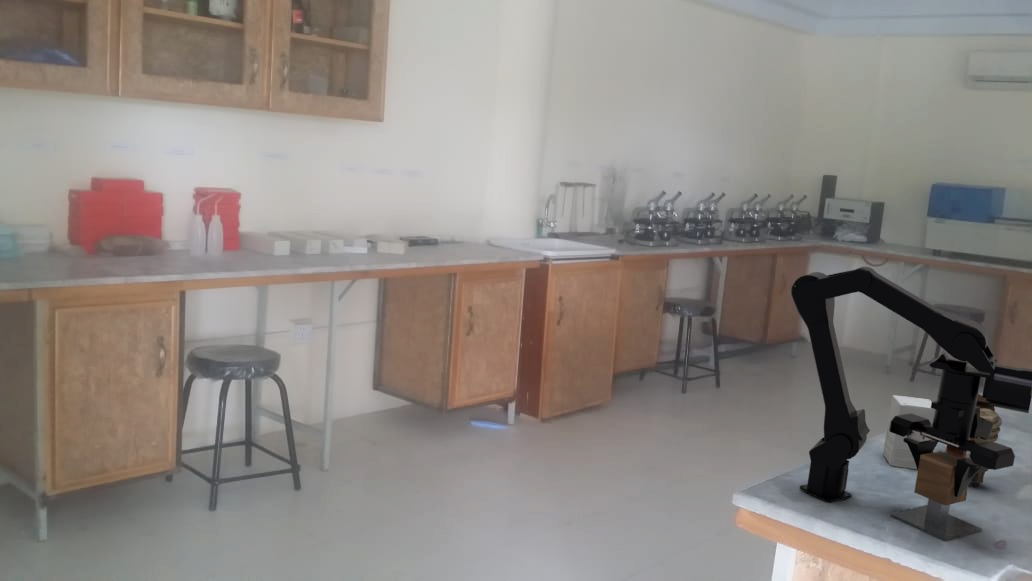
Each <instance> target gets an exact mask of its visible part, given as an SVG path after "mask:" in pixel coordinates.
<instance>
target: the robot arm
mask: <svg viewBox="0 0 1032 581" xmlns="http://www.w3.org/2000/svg"><path fill="white" fill-rule="evenodd" d="M790 290H791V292H790V293H791V297H792V300H793V303H794V305H795V307H796V310H797V312H798V314H799V316H800V318H801V319H802V321H803V322H804V324H805V326H806V327H807V329H808V330H807V331H808V335H809V340H810V344H811V348H812V351H813V352H812V353H813V357H814V361H815V362H814V363H815V366H816V372H817V376H818V379H819V383H820V389H821V393H822V397H823V403H824V418H823V437H821V438H820V439H819V440H818V442H816V444H814V446H813V447H812V448H811V449H810V450H809V452H808V454H809V457H810V464H809V472H808V478H807V483H806V484H801V485H799V490H801V491H804V492H806V494H807V493H808V494H809V495H812V496H814V497H815V498H818V499H820V500H822V501H825V502H826V503H827V502H828V503H831V502H836V501H841V500H844V499H850V498H852V496H853V494H852V493H850V492H847V491H845V490H846V489H847V487H846V486H847V483H848V482H847V481H848V475H849V469H850V468H849V464H850V460H851V459H853V458H854V457H856V456H857V454H858V453H859V451H860V450H861V449H862V448H863V447H864V445H865V444H866V442H867V436H868V434H869V432H870V431H871V430H870V428H869V427H868V425H867V422H866V411H865V409H859V410H857V409H856V408H855V405H854V404H853V403H852V400H851V397H850V393H849V387H848V384H847V378H846V374H845V371H844V370H845V369H844V367H843V366H844V365H843V362H842V361H843V360H842V357H841V353H840V348H839V347H840V346H839V343H838V339H837V334H836V328H835V325H834V318H835V317H834V315H835V307H836V306H835V304H836V303H835V298H837V297H842V296H845V295H846V296H847V295H848V294H853V293H861V294H863V295H864V296H867V297H868V298H870V299H871V300H873V301H875V302H876V303H877V304H880V305H882V306H883V307H885V308H887V309H888V310H890V311H892V312H893V313H894V314H896V315H898V316H900V317H902V318H903V319H905V320H907V321H908V322H910V323H912V324H913V325H915V326H916V327H918V328H920V329H922V330H923V331H924V332H925V333H926V334H927V335H928V336H929V337H930V338H932V340H933V341H934V342H935V344H937V345H938V346H939V347H941V348H942V349H943V350H944V352H942V353H941V354H940V355H939V356H938V357H936V358H934V359H932V361H931V362H930V363H929V367H930V368H933V369H938V370H941V374H940V380H939V386H938V392H937V398H936V400H933V401H931V402H932V403H931V408H933V409H935V413H934V419H933V425H931V423H930V421H929V419H926V418H923V417H920V416H917V415H914V414H904V415H898V416H895V417H893V419H892V420H891V421H890V427H889V431H890V432H892V433H894V434H897V435H900V436H902V437H904V436H906V435H907V438H904V439H903V441H904V442H905V443H907V444H908V446H909V449H910V451H911V453H912V456H913V458H914V461H915V464H916V467H917V469H916V470H917V471H918V468H919V462H920V456H921V455H922V454H927V453H932V452H934V451H935V449H936V446H937V445H938V443H940V444H941V443H942V444H944V445H946V446H947V445H949V446H951V447H954V448H957V449H960V450H962V451H965V452H966V458H962V459H957V466H956V477H955V487H954V492H955V497H960V496H961V495H962V493H963V492H964V490H965V489H966V487H967V486H968V487H969V485H968V484H970V483H971V482H970V481H971V479H972V478H973V477H974V475H975V474H976V473H977V472H978V471H979V469H980V468H982V467H985V468H988V469H989V470H994V471H995V470H1000V469H1004V468H1008V467H1013V466H1014V464H1015V457H1016V455H1015V453H1014V450H1013V449H1012V447H1009V446H1006V445H1004V444H1001V443H997V442H996V441H994V442H992V441H989V442H983V443H975V442H972V441H970V438H972V439H978V438H979V437H980V438H981V439H983V440H986V441H987V440H988V438H989V435H990V432H991V430H992V427H993V425H994V423H992V422H990V421H988V420H986V419H984V418H982V417H980V407H977V406H976V403H977V397H978V394H979V392H980V391H979V390H980V386H981V380H982V378H984V379H985V380H984V384H983V385H984V386H983V390H982V398H986V401H988V402H989V406H994V408H1001V409H1005V410H1011V411H1015V412H1020V413H1024V414H1029V412H1030V407H1031V403H1032V369H1031V368H1030V369H1029V368H1025V367H1024V368H1020V367H1018V368H1017V367H1013V366H1007V365H1002V364H998V362H999V361H998V360H997V358H996V356H995V355H994V353H993V352H992V350H991V348H990V347H989V345H988V344H989V334H988V331H987V329H986V327H985V326H983V325H982V323H979V322H977V321H975V320H972V319H969V318H967V317H963V316H962V315H959V314H957V313H952V312H950V311H946V310H943V309H941V308H938V307H936V306H934V305H933V304H931V303H929V302H927V301H926V300H924V299H922V298H920V297H919V296H918V295H916V294H913V293H912V292H910V291H909V290H907V289H905V288H904V287H902V286H900V285H898V284H897V283H895V282H893V281H891V280H889V278H886V277H884V276H883V275H881V274H880V273H878V272H877V271H876V270H875V269H873V268H872V267H870V266H861V267H858V268H855V269H850V270H847V271H842V272H837V273H836V272H835V273H832V274H825V273H824V272H820V271H815V272H814V271H813V272H810V273H808V274H804V275H802V276H800V277H798V278H797V279H795V281H794V282H793V285H791V288H790ZM945 351H946V352H945ZM946 353H948V354H949V355H950V356H951V357H952V358H950V357H949V356H948V355H947V354H946ZM953 358H954V359H953ZM969 364H970V365H971V366H972V367H970V366H968V365H969ZM954 441H956V442H959V443H960V444H959V443H956V442H954Z"/></svg>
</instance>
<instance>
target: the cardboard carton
mask: <svg viewBox="0 0 1032 581" xmlns="http://www.w3.org/2000/svg"><path fill="white" fill-rule="evenodd" d="M957 459H962V458H959V457H956V456H954V455H951V454H948V453H947V452H946V451H942V450H937V451H933V452H932V453H927V454H922V455H921V456H920V462H919V468H918V470H917V474H916V480H915V486H914V492H913V493H915V494H917V495H919V496H921V497H924V498H926V499H931V500H933V501H935V502H938V503H940V504H942V505H945V506H946V505H950V506H951V505H953V504H958V503H962V502H965V501H966V500H967V495H968V489H969V484H970V483H969V484H968V486H967V487H966V489H965V490H964V492H963V493H962V495H961V496H960V497H955V492H954V487H955V477H956V466H957Z"/></svg>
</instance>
